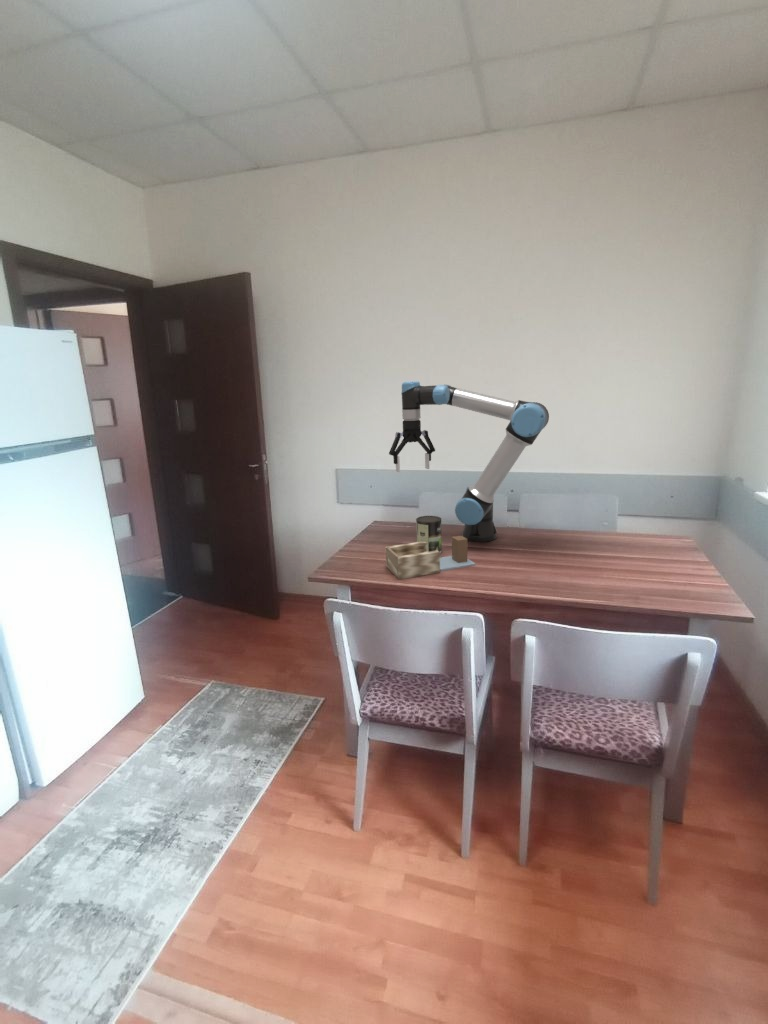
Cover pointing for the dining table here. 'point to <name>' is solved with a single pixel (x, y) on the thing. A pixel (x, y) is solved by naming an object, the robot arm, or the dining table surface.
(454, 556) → the lid
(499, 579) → the dining table surface
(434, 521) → the coffee can
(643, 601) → the dining table surface
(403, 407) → the robot arm
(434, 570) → the box
